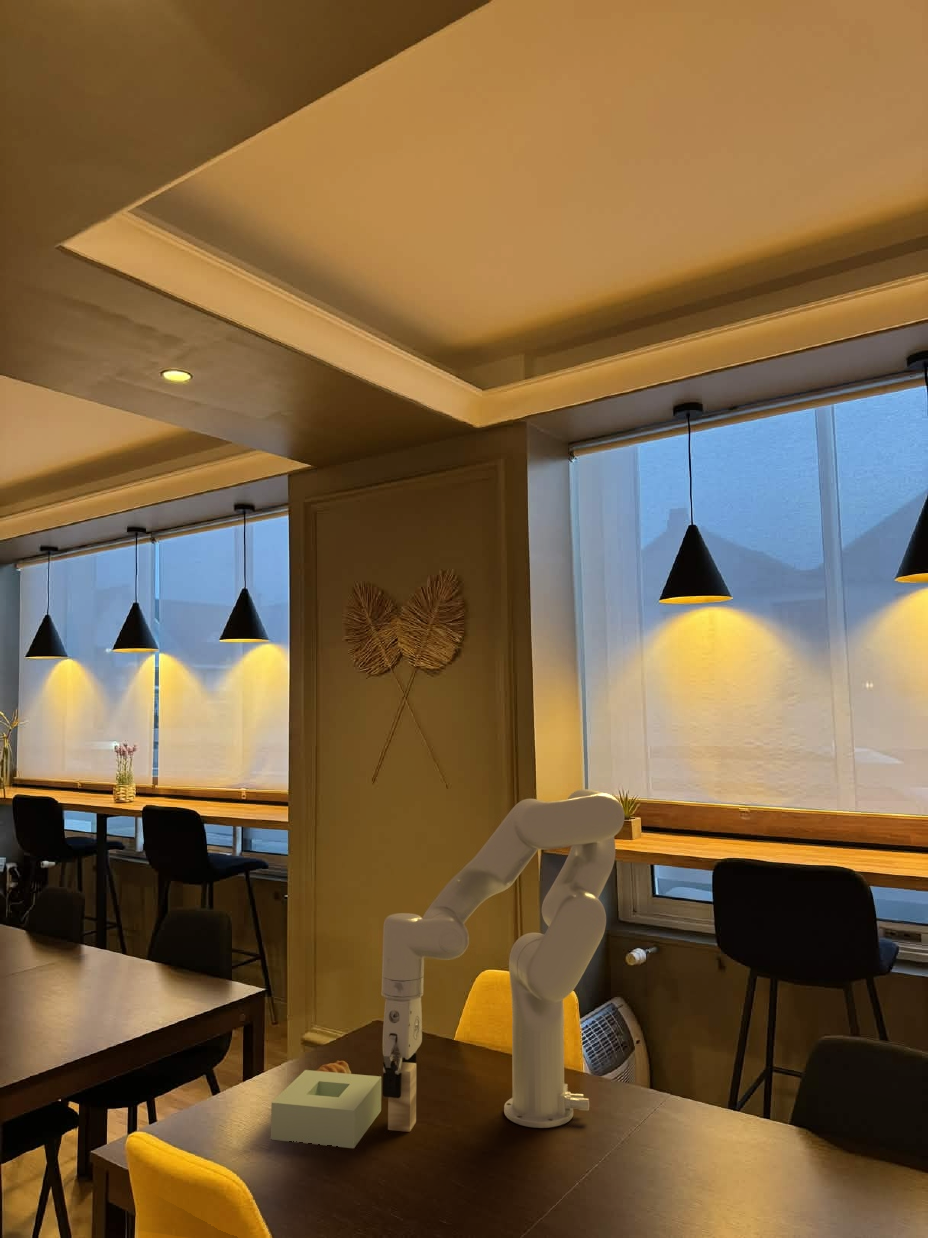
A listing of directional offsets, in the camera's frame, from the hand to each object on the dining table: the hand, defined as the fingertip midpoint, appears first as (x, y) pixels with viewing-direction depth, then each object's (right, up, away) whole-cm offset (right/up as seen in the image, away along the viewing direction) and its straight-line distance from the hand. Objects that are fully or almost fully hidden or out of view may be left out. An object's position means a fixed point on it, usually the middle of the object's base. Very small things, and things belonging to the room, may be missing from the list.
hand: (399, 1086), depth 159 cm
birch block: (0, -7, -1) cm, 7 cm away
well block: (-13, -7, 0) cm, 14 cm away
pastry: (-15, -9, +18) cm, 25 cm away
